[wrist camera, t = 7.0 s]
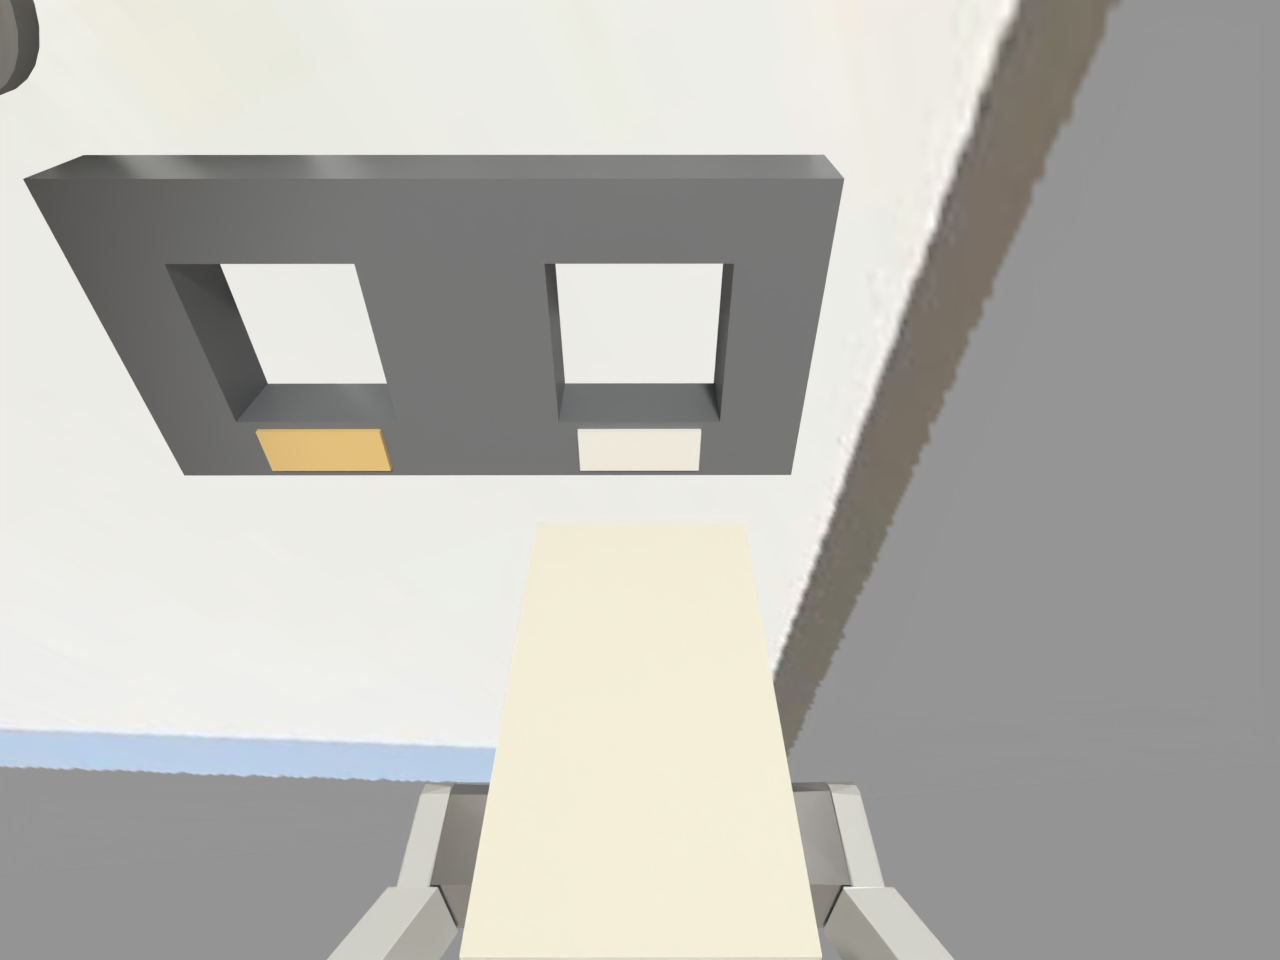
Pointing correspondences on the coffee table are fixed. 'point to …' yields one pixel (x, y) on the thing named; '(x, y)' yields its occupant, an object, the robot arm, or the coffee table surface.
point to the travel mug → (17, 42)
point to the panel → (452, 304)
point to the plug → (640, 760)
